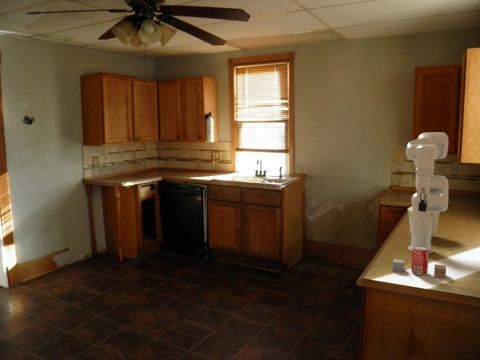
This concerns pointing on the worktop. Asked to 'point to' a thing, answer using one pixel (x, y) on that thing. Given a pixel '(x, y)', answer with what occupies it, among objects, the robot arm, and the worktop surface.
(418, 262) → the soda can
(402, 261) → the slate grey block
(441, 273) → the walnut block
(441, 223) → the worktop surface
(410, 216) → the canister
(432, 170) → the robot arm
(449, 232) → the worktop surface
